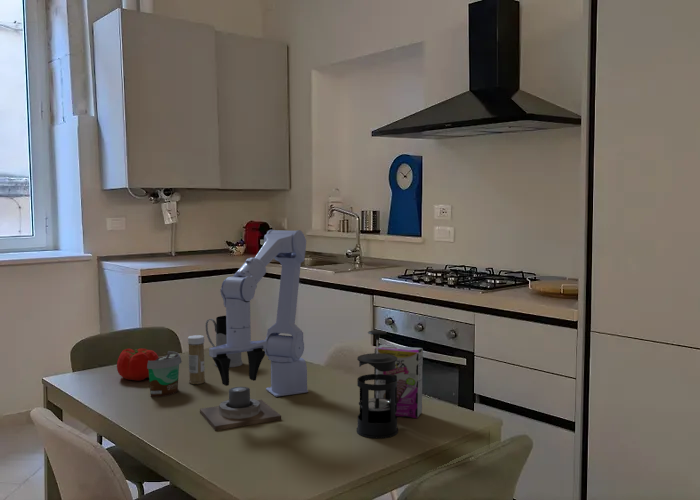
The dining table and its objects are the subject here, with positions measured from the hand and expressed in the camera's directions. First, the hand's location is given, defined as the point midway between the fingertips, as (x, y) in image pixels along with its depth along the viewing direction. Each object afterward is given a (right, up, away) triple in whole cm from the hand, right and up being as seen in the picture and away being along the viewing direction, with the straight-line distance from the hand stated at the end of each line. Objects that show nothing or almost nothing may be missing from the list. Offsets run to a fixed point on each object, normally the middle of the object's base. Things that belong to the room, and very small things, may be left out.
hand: (239, 382), depth 159 cm
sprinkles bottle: (-17, -6, +30) cm, 35 cm away
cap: (0, -7, +1) cm, 7 cm away
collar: (0, -8, +1) cm, 8 cm away
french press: (+33, -9, -9) cm, 36 cm away
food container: (-23, -7, +21) cm, 31 cm away
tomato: (-36, -6, +35) cm, 50 cm away
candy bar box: (+38, -8, +2) cm, 39 cm away
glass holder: (-14, -5, +53) cm, 55 cm away
